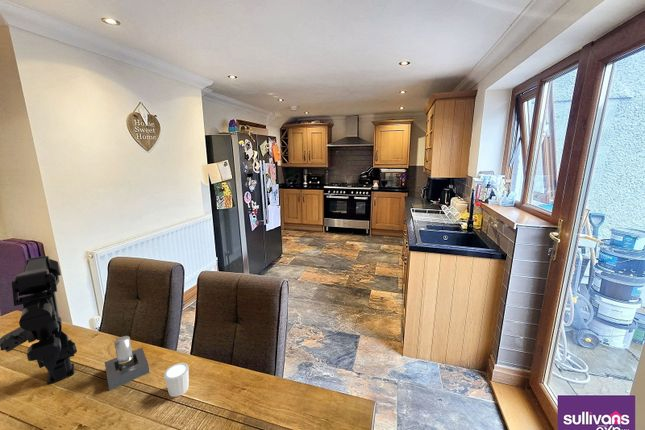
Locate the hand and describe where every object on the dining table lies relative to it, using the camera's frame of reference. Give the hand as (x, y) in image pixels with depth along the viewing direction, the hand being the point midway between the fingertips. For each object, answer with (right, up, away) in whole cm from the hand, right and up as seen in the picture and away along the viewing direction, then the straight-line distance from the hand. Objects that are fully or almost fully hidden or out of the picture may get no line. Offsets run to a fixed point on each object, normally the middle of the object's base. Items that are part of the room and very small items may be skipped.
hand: (51, 361), depth 80 cm
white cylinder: (+35, -12, +6) cm, 37 cm away
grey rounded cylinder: (+13, -11, +13) cm, 21 cm away
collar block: (+13, -11, +13) cm, 21 cm away
